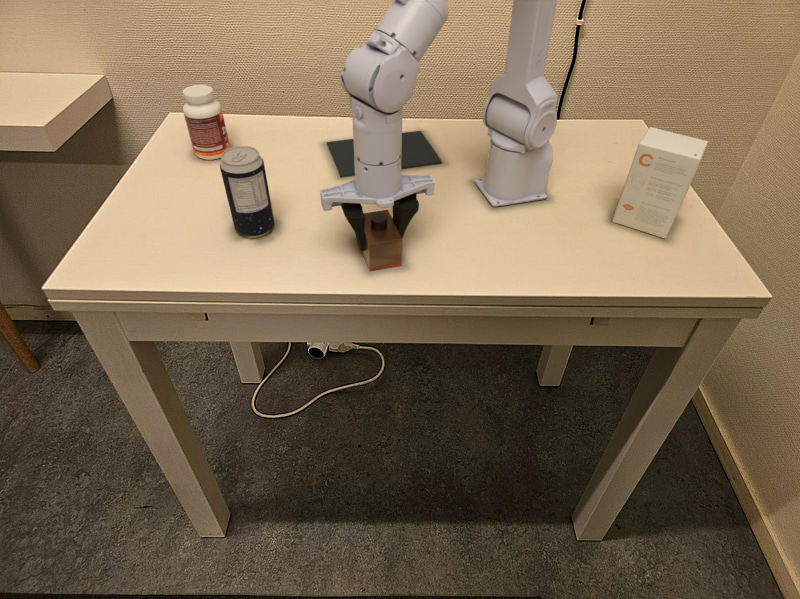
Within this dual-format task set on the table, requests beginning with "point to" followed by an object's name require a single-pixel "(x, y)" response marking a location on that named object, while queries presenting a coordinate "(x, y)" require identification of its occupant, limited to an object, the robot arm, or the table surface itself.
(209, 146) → the pill bottle
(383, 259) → the stamp
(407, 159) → the desk mat
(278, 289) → the table surface
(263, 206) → the beverage can
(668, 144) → the small box
